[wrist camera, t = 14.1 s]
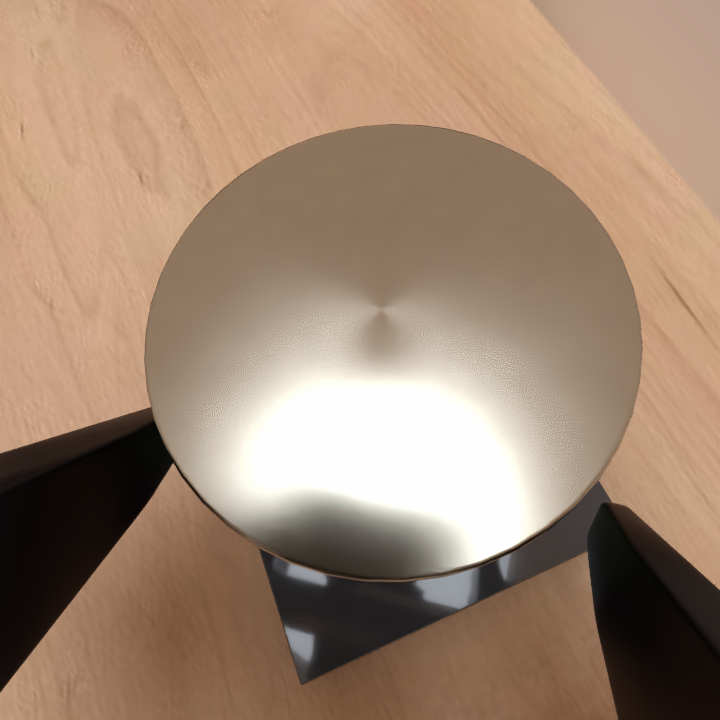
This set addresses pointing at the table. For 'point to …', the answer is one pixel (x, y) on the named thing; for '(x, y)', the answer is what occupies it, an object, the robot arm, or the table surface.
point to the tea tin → (393, 353)
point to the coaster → (403, 596)
